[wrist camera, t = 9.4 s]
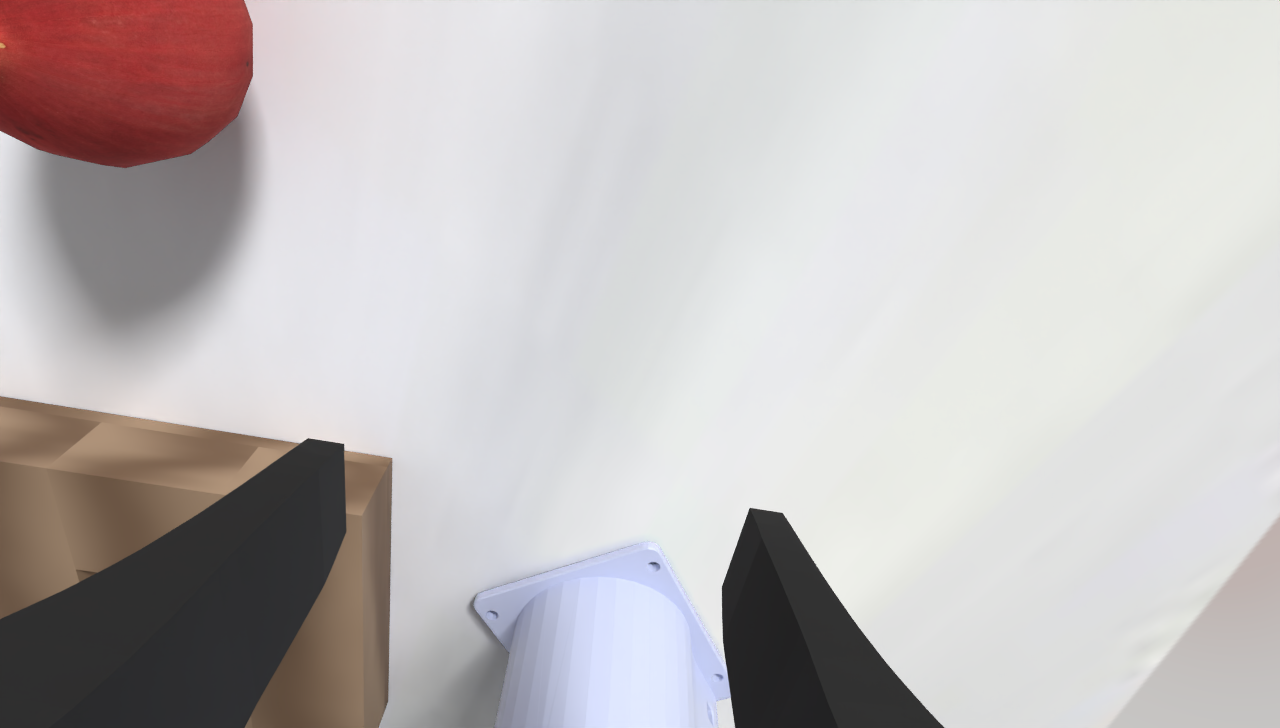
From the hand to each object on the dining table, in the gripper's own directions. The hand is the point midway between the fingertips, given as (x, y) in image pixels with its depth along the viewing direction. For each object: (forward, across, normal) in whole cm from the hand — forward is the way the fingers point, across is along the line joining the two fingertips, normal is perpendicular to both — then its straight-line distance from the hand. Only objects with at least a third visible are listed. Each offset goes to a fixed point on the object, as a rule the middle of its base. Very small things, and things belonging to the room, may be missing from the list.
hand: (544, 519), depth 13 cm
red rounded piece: (+11, +11, -6) cm, 16 cm away
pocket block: (+10, +13, +15) cm, 22 cm away
